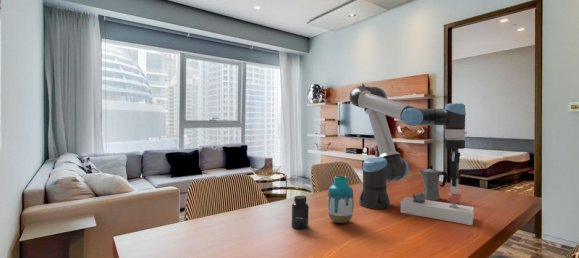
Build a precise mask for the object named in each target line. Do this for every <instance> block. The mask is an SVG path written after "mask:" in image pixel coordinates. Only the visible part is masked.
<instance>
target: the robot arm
mask: <svg viewBox="0 0 579 258" xmlns="http://www.w3.org/2000/svg"><path fill="white" fill-rule="evenodd" d="M387 95H388V94H387V93H386V92H385V90H384V89H383V88H380V87H378V86H365V85H364V86H363V85H358V86H355V87H354V88H353V89H351V91H350V93H349V101H350V103H351V105H353V106H355V107H357V108H360V109H364V113H365V114H367V115H368V118H369V122H370V124H371V128H372V133H373V136H374V140H375V142H376V146H377V149H378V153H379V155H378V156H376V157H370V158H366V159H364V160H363V162H362V190H361V193H360V195H359V199H358V202H359V203H358V204H359V205H360V206H362V207H364V208H367V209H375V210H376V209H377V210H380V209H381V210H383V209H387V208H390V207H391V200H390V196H389V192H388V189H387V187H388V185H387V184H388V183H390V182H398V181H402V180H403V179H405V178H406V177H407V175H408V174H409V163H408V162H407V161H406V160H405V159H404V158H402V157H401V153H400V152H398V151H396V147H395V143H394V140H393V136H392V134H391V130H390V127H389V124H388V120H387V117H386V116H388V117H390V118H393V119H396V120H398V121H401V122H403V123H404V124H405V125H407V126H411V127H414V126H444V139H445V140H444V147H445V148H446V149H450V152H448V158H449V172H450V173H449V176H448V179H449V180H450V193H452V194H459V179H461V176H460V174H459V172H460V171H459V170H460V169H459V168H460V162H461V161H460V160H461V159H460V158H461V152H459V150H464V149H465V148H466V140H465V139H466V135H467V133H468V132H467V131H466V115H467V113H466V105H465V104H464V103H460V102H459V103H458V102H456V103H455V102H454V103H446V104H445V107H444V108H418V107H415V106H411V105H409V104H406V103H402V102H399V101H395V100H392V99H388V97H387Z"/></svg>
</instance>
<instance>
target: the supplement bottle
mask: <svg viewBox="0 0 579 258" xmlns="http://www.w3.org/2000/svg"><path fill="white" fill-rule="evenodd" d="M307 200H308V199H307V196H305V195H295V196H294V201H293V203H292V205H291V227H292V228H293V229H296V230H305V229H308V227H309V219H310V218H309V213H310V212H309V211H310V207H309V204H308V203H307V202H308V201H307Z"/></svg>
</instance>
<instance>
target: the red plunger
mask: <svg viewBox="0 0 579 258" xmlns="http://www.w3.org/2000/svg"><path fill="white" fill-rule="evenodd" d="M461 199H462V194H461V193H458V194H452V193H451V192H447V201H448V202H450V204H451V208H456V209H457V205H458V204H457V203H461V202H462V201H461Z"/></svg>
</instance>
